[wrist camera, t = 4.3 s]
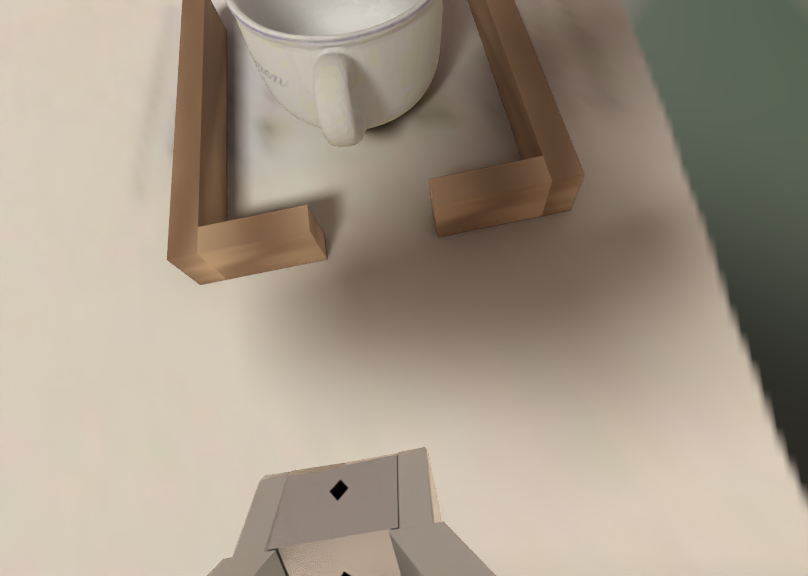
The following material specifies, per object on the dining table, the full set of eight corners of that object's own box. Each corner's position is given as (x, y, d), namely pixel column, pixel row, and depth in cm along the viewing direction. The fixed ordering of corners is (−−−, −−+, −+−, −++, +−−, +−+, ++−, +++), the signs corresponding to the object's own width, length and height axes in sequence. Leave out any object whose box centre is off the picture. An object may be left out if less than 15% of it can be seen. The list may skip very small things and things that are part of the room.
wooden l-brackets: (200, 285, 24) (167, 259, 22) (206, 35, 32) (182, -7, 30) (570, 210, 24) (584, 174, 21) (481, -27, 32) (483, -75, 29)
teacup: (302, 30, 32) (254, -106, 24) (458, 30, 30) (457, -117, 22) (247, 199, 26) (165, 90, 19) (432, 210, 25) (419, 95, 17)
